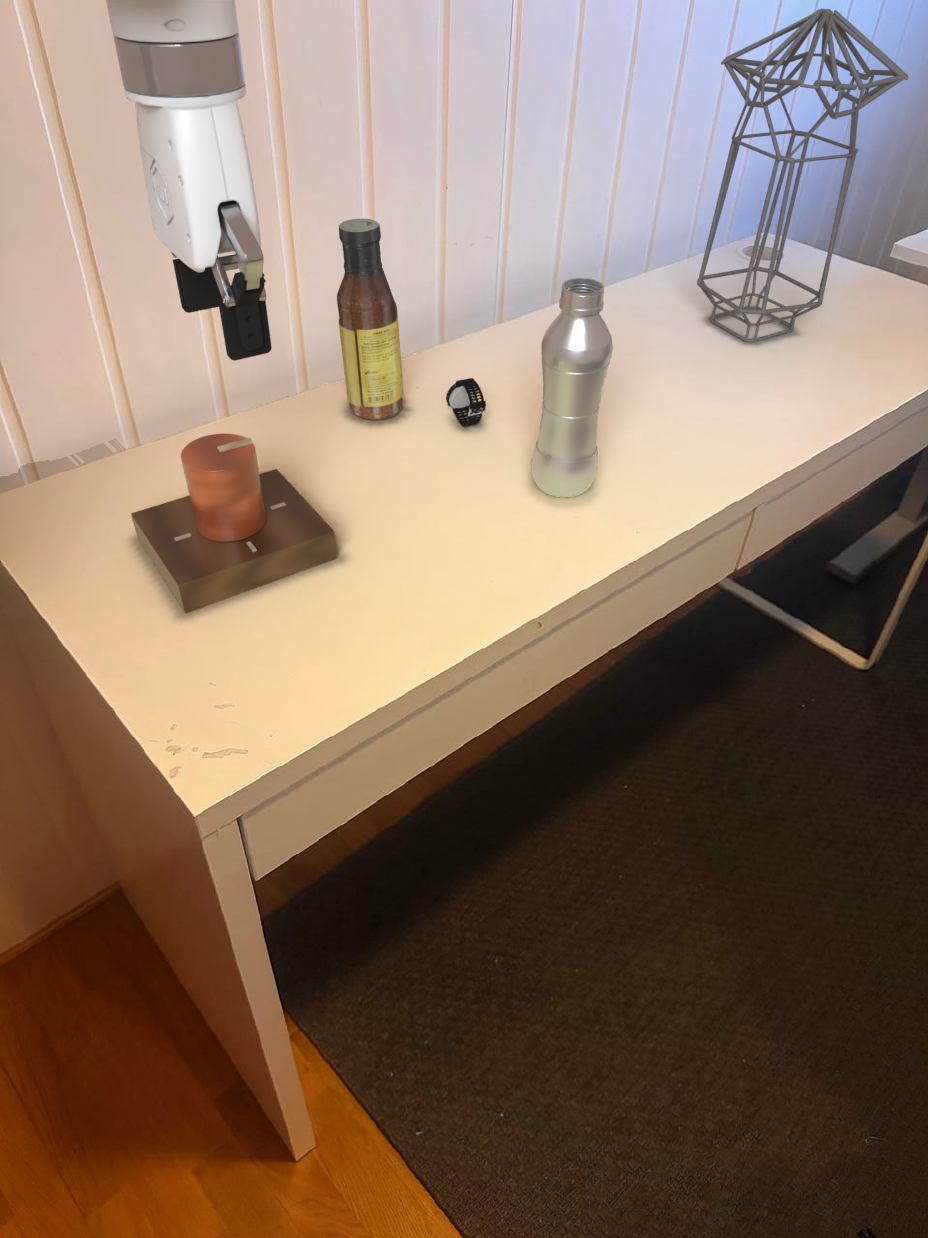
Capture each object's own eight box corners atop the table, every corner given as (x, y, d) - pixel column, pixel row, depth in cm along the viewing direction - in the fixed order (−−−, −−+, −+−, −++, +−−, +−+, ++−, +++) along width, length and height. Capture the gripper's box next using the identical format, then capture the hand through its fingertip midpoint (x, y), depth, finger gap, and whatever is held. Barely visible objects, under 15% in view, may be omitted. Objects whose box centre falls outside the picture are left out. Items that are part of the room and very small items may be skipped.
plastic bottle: (520, 497, 87) (533, 294, 74) (542, 463, 92) (558, 266, 79) (583, 512, 85) (609, 306, 72) (602, 476, 90) (630, 278, 77)
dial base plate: (185, 613, 74) (177, 584, 71) (138, 540, 81) (130, 511, 79) (337, 558, 79) (334, 529, 77) (280, 494, 87) (276, 466, 85)
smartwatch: (482, 412, 100) (483, 371, 96) (485, 436, 96) (487, 393, 93) (445, 413, 100) (445, 371, 96) (447, 436, 96) (447, 393, 92)
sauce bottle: (413, 403, 101) (408, 219, 88) (387, 427, 97) (378, 238, 84) (362, 391, 103) (350, 210, 90) (335, 415, 99) (318, 228, 86)
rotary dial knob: (211, 549, 75) (195, 475, 70) (186, 515, 79) (169, 442, 74) (277, 527, 78) (266, 454, 73) (249, 495, 81) (237, 423, 76)
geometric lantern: (669, 313, 121) (722, 2, 98) (761, 295, 127) (832, -4, 103) (742, 360, 111) (821, 23, 88) (840, 339, 116) (938, 16, 93)
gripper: (85, 50, 60) (141, 301, 71) (167, 101, 49) (218, 388, 60) (194, 42, 63) (231, 284, 74) (293, 88, 52) (319, 363, 64)
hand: (225, 330), depth 67 cm, fingers open, 9 cm apart
